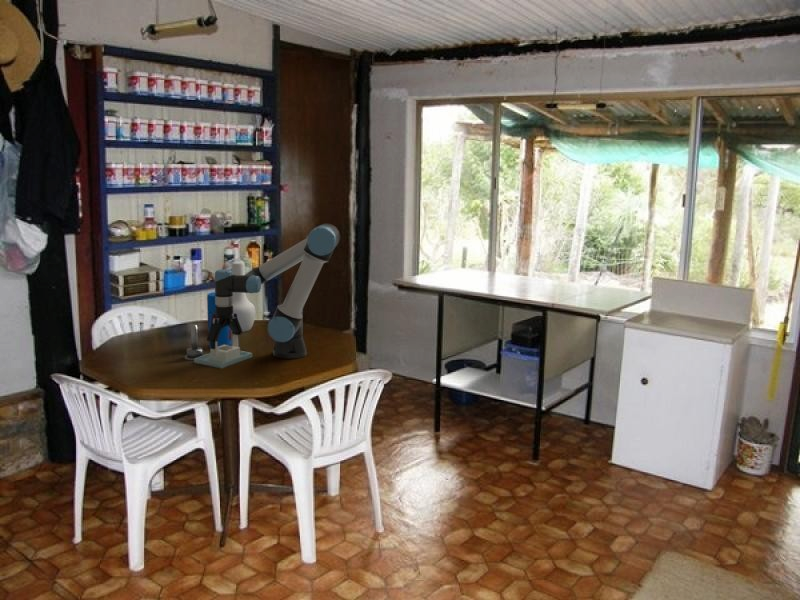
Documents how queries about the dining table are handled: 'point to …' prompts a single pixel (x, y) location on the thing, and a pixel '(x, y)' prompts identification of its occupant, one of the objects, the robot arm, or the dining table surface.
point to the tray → (208, 362)
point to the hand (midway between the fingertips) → (225, 352)
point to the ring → (226, 353)
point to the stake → (194, 345)
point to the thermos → (226, 332)
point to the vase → (242, 302)
